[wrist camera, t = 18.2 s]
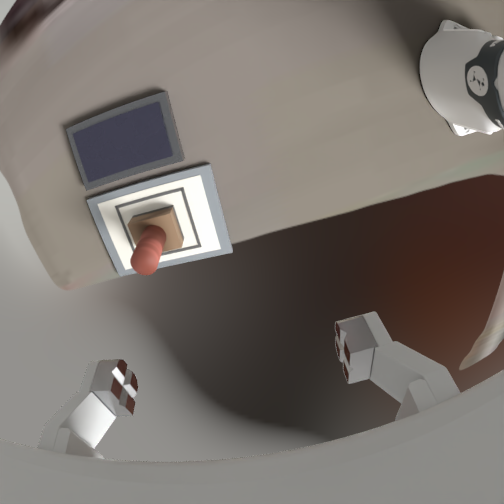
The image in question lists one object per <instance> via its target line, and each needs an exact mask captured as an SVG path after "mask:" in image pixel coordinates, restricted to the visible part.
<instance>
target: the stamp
mask: <svg viewBox="0 0 504 504" xmlns="http://www.w3.org/2000/svg"><path fill="white" fill-rule="evenodd" d="M127 225H128V228H129V230H130V233H131V235H132V238H133V240H134V243H135V245H136V248H135V250H134V252H133V254H132V256H131V259H130V263H131V266H132V268H133V269H134V270H135V271H136V272H137V273H139V274H142V275H150V274H152V273H154V272H155V271H156V269H157V267H158V263H159V260H160V257H161V254H162V252H166V251H170V250H175V249H179V248H182V245H183V241H184V236H183V233H182V230H181V227H180V224H179V221H178V218H177V214H176V211H175V208H174V205H172V206H168V207H164V208H160V209H156V210H152V211H149V212H145V213H141V214H138V215H134V216H132V218H131V220H130V221H129V223H128V224H127Z"/></svg>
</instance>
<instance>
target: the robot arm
mask: <svg viewBox="0 0 504 504" xmlns="http://www.w3.org/2000/svg"><path fill="white" fill-rule="evenodd" d="M454 28H455V29H454ZM420 77H421V82H422V86H423V89H424V92H425V94H426V96H427V98H428V100H429V102H430V103H431V105H432V106H433V108H434V109H435V110H436V111H437V112H438V113H439V114H440V115H441V116H443V117H444V118H445V119H446V120H447V121H448V123H449V125H450V127H451V129H452V131H453V132H454V133H455V134H456V135H459V136H464V135H467V134H470V133H473V132H476V131H479V132H482V133H486V134H492V132H496V131H498V130H501V129H504V40H503V39H502V38H501V37H498V36H494V35H491V33H489V32H486V31H483V30H479V29H468V28H466V27H464V26H462V25H460V24H458V23H456V22H453V21H451V20H443V21H442V23H441V25H440V27H439V30H438V32H437V33H436V34H435V35H434V36H433V37H431V38H430V39H429V40H428V41H427V43H426V44H425V46H424V48H423V50H422V54H421V58H420ZM335 330H336V333H337V336H336V337H335V344H336V350H337V354H338V357H339V360H340V361H341V362H342V363H343V371H344V374H345V376H346V379H347V382H348V384H351V383H354V382H358V381H362V380H366V379H369V378H370V380H371V381H373V382H374V383H375V384H377V385H378V386H379V387H381V388H382V389H383V390H384V391H386V392H387V393H388V394H390V395H391V396H392V397H394V398H395V399H396V400H398V401H399V402H400V403H402V404H401V407H400V409H399V411H398V414H397V416H396V418H395V419H396V421H395V422H392V423H389V424H387V425H384V426H380V427H377V428H374V429H371V430H369V431H365V432H362V433H359V434H355V435H352V436H348V437H344V438H341V439H338V440H333V441H329V442H325V443H321V444H317V445H312V446H308V447H303V448H298V449H293V450H288V451H282V452H276V453H270V454H263V455H257V456H249V457H240V458H232V459H220V460H207V461H184V462H147V461H126V460H112V459H103V456H102V454H101V453H99V452H98V451H97V450H95V449H94V448H95V447H96V445H97V444H98V442H99V441H100V440H101V438H102V437H103V435H104V434H105V432H106V431H107V429H108V428H109V427H110V425H111V424H112V422H113V421H114V420H115V418H116V417H115V416H133V414H134V408H135V400H134V399H133V397H134V396H135V395H136V394H137V391H138V382H137V378H136V376H135V374H134V373H133V372H132V371H130V370H129V369H127V363H126V362H125V361H124V360H123V359H116V360H100V361H91V362H90V363H89V364H88V367H87V369H86V372H85V375H84V379H83V381H82V385H81V388H80V391H79V392H76V393H75V394H74V395H73V396H72V397H71V398H70V399H69V400H68V401H67V402H66V403H65V404H64V405H63V406H62V407H61V408H60V409H59V410H58V411H57V412H56V413H55V414H54V415H53V416H52V417H51V418H50V420H48V421H47V422H46V424H45V425H44V428H43V431H42V434H41V438H40V441H39V445H38V448H34V447H30V446H26V445H22V444H18V443H14V442H10V441H7V440H4V439H0V504H504V370H502V371H501V372H499V373H497V374H496V375H494V376H492V377H490V378H489V379H487V380H485V381H483V382H481V383H480V384H478V385H476V386H474V387H472V388H470V389H469V390H466V391H464V392H462V393H460V391H459V390H458V388H457V386H456V384H455V383H454V381H453V379H452V377H451V375H450V374H449V372H448V370H447V369H446V367H444V366H442V365H440V364H438V363H436V362H435V361H433V360H431V359H429V358H427V357H425V356H423V355H422V354H420V353H418V352H416V351H414V350H412V349H410V348H408V347H406V346H405V345H402V344H401V343H399V342H397V341H395V342H392V340H391V338H390V336H389V334H388V333H387V331H386V329H385V327H384V325H383V324H382V322H381V320H380V318H379V317H378V315H377V313H376V312H370V313H367V314H364V315H359V316H356V317H353V318H348V319H345V320H341V321H337V322H336V323H335Z"/></svg>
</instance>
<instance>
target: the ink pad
mask: <svg viewBox="0 0 504 504" xmlns="http://www.w3.org/2000/svg"><path fill="white" fill-rule="evenodd" d="M66 131H67V135H68V138H69V141H70V145H71V148H72V151H73V154H74V157H75V160H76V163H77V166H78V169H79V172H80V175H81V177H82V180H83V183H84V186H85V188H86V191H87V190H90V189H92V188H95V187H98V186H101V185H104V184H107V183H110V182H113V181H116V180H119V179H122V178H126V177H129V176H132V175H135V174H138V173H142V172H145V171H148V170H152V169H155V168H159V167H162V166H166V165H170V164H173V163H177V162H181V161H183V160H184V158H185V157H184V154H183V150H182V146H181V143H180V139H179V135H178V131H177V127H176V124H175V120H174V116H173V112H172V108H171V104H170V100H169V96H168V92H167V91H165V92H162V93H158V94H155V95H152V96H149V97H146V98H143V99H140V100H137V101H134V102H131V103H128V104H126V105H123V106H120V107H117V108H115V109H112V110H110V111H107V112H104V113H102V114H99V115H97V116H95V117H92V118H90V119H87V120H85V121H83V122H80V123H78V124H76V125H74V126H72V127H69V128H67V129H66Z"/></svg>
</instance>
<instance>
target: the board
mask: <svg viewBox="0 0 504 504" xmlns="http://www.w3.org/2000/svg"><path fill="white" fill-rule="evenodd" d="M87 203H88V205H89V208H90V211H91V213H92V215H93V218H94V220H95V223H96V225H97V228H98V230H99V232H100V235H101V237H102V239H103V241H104V244H105V246H106V248H107V250H108V253H109V255H110V257H111V259H112V261H113V263H114V265H115V268H116V270H117V272H118V274H119V276H124V275H129V274H134V273H137V272H136V271H135V270H134V269H133V268H132V266H131V263H130V259H131V256H132V254H133V252H134V250H135V248H136V245H135V243H134V240H133V238H132V235H131V233H130V230H129V228H128V225H127V224H128V223H129V221H130V220H131V218H132V216H134V215H138V214H141V213H145V212H149V211H152V210H156V209H160V208H164V207H168V206H172V205H174V208H175V211H176V214H177V218H178V221H179V224H180V227H181V230H182V233H183V236H184V241H183V245H182V248H179V249H175V250H170V251H166V252H162V254H161V257H160V260H159V263H158V267H157V268H161V267H166V266H171V265H175V264H180V263H185V262H189V261H194V260H199V259H204V258H209V257H213V256H218V255H223V254H227V253H232V252H233V249H232V246H231V242H230V238H229V234H228V230H227V226H226V223H225V219H224V215H223V211H222V207H221V203H220V199H219V196H218V192H217V188H216V184H215V180H214V176H213V172H212V168H211V164H210V163H209V164H205V165H201V166H197V167H193V168H189V169H185V170H181V171H177V172H173V173H170V174H166V175H162V176H159V177H155V178H152V179H148V180H145V181H141V182H138V183H135V184H131V185H128V186H125V187H122V188H118V189H115V190H112V191H109V192H106V193H103V194H100V195H97V196H94V197H91V198H88V199H87Z"/></svg>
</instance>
